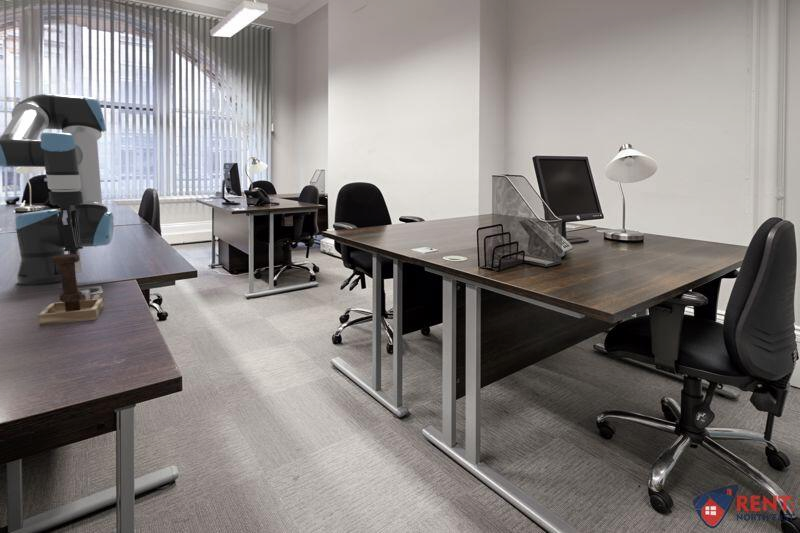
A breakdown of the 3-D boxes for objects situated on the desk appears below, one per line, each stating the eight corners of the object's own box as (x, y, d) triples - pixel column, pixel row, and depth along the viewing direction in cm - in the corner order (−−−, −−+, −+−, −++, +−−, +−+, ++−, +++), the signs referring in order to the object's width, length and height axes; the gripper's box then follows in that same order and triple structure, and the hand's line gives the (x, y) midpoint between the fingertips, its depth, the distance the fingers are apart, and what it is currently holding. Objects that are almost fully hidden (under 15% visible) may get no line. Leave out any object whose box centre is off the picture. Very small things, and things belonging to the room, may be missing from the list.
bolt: (91, 310, 119) (83, 254, 116) (76, 316, 114) (67, 257, 111) (71, 310, 119) (62, 253, 116) (54, 315, 114) (45, 257, 111)
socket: (62, 301, 129) (61, 292, 129) (110, 297, 134) (109, 288, 133) (39, 325, 109) (38, 315, 109) (96, 319, 114) (95, 309, 113)
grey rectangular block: (76, 302, 127) (74, 289, 126) (91, 301, 129) (90, 288, 128) (70, 308, 121) (68, 295, 121) (87, 307, 123) (85, 293, 122)
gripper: (54, 188, 131) (66, 268, 137) (42, 192, 120) (56, 278, 126) (85, 188, 134) (95, 266, 140) (76, 192, 123) (88, 276, 129)
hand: (77, 272), depth 133 cm, fingers closed
